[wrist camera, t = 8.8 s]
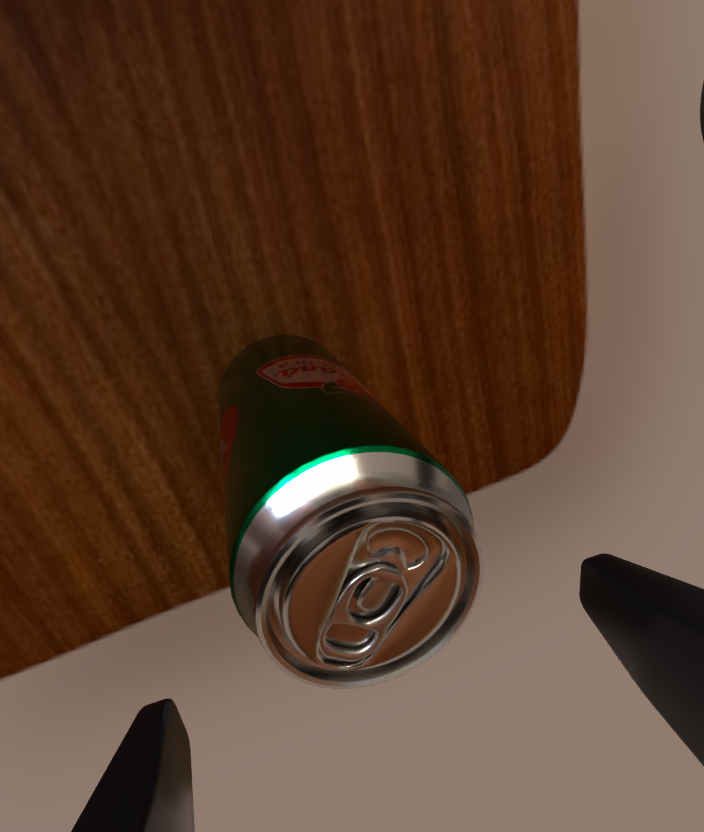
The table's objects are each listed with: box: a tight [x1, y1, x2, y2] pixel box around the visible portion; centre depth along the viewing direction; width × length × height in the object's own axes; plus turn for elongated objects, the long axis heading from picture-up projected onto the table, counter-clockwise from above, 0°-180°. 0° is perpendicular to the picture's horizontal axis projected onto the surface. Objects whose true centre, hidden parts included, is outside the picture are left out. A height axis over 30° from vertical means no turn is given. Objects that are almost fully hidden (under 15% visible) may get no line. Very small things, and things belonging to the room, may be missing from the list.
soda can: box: [219, 335, 483, 689], centre depth 14 cm, size 5×5×12 cm
